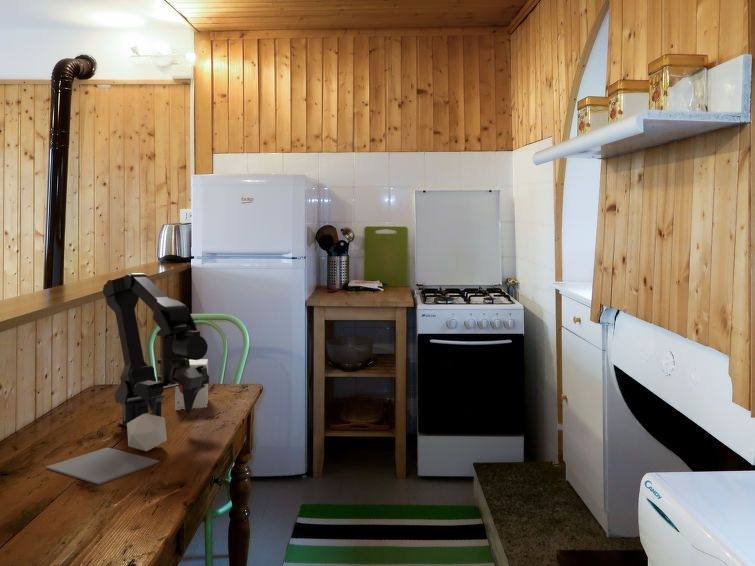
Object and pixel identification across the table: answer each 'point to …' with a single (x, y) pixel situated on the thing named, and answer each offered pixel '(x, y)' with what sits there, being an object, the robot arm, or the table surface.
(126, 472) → the mat
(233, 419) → the table surface
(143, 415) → the grey faceted block
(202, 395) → the supplement box
